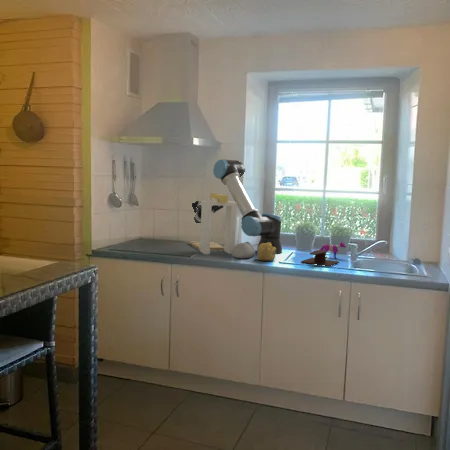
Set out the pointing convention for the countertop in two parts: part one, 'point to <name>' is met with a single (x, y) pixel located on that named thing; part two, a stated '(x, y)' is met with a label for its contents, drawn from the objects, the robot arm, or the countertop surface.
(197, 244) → the board
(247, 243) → the decorative stone
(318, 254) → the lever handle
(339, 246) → the toy dog
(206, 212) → the bridge
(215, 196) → the bar
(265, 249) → the stone
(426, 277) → the countertop surface
